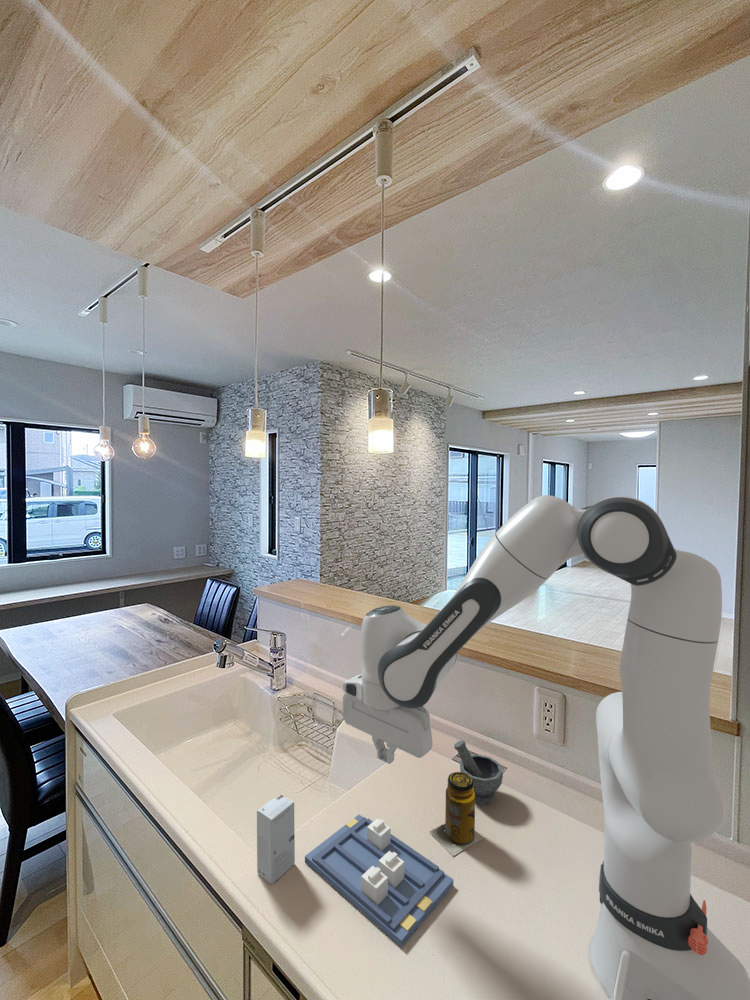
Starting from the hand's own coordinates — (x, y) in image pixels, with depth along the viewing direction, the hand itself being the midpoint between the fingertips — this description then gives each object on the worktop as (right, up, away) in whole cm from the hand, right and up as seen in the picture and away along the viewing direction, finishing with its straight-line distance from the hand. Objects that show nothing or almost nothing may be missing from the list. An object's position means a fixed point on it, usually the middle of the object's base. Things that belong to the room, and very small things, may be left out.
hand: (385, 759), depth 89 cm
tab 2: (-2, -19, -9) cm, 21 cm away
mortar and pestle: (+22, -19, +18) cm, 34 cm away
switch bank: (-2, -20, -3) cm, 20 cm away
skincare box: (-21, -20, -2) cm, 29 cm away
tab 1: (-1, -18, +3) cm, 18 cm away
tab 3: (+1, -18, -6) cm, 19 cm away
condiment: (+15, -20, +6) cm, 25 cm away
